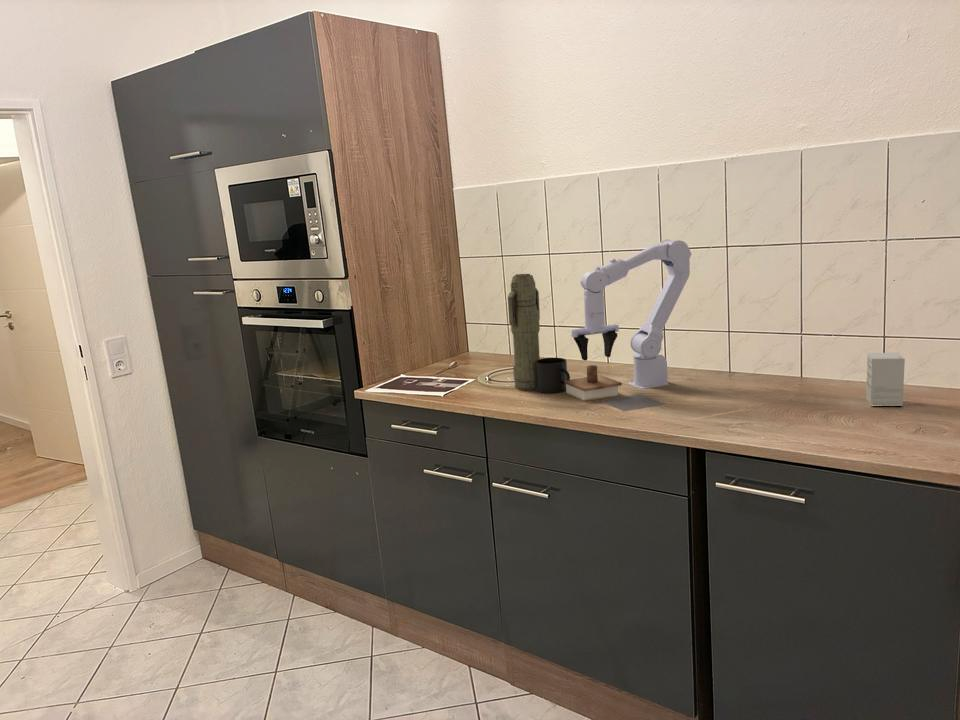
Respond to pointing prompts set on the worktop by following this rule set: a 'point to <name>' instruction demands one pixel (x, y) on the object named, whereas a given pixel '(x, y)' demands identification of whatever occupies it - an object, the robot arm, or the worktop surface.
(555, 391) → the mug
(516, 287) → the thermos
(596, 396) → the dish
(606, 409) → the worktop surface
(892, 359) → the supplement box
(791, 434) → the worktop surface
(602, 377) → the lid
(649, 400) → the mat
